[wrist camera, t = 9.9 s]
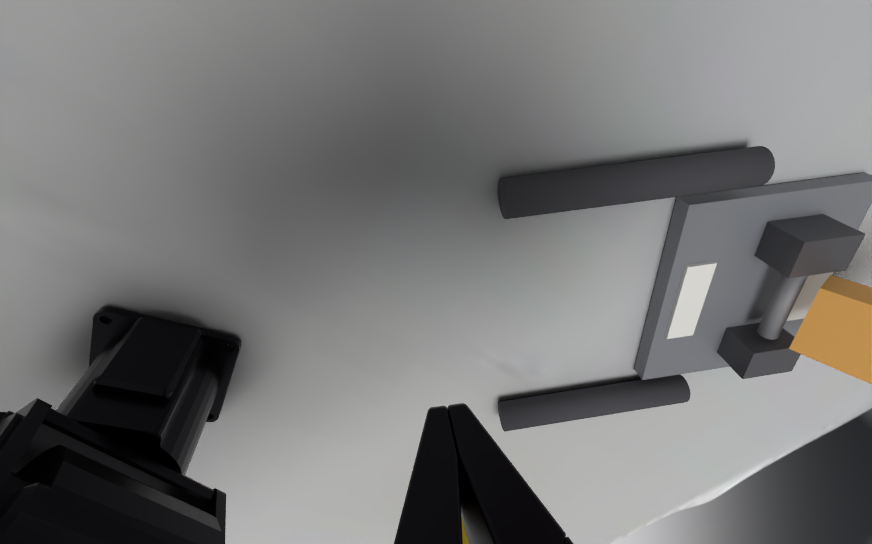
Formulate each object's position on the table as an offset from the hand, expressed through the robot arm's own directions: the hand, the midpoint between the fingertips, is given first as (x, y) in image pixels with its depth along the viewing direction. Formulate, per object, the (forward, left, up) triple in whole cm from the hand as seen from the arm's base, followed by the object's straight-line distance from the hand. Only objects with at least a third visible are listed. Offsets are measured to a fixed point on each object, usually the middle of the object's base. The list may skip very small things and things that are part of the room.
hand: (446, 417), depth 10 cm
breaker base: (+3, -20, -12) cm, 24 cm away
